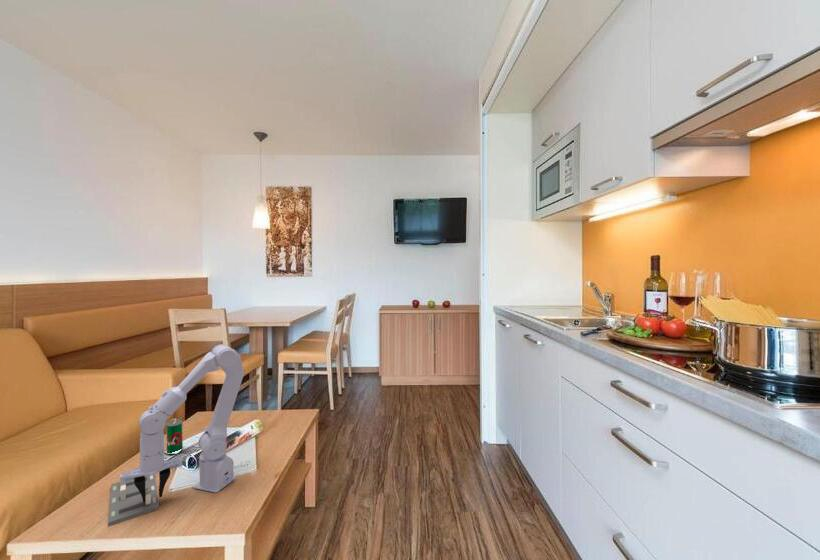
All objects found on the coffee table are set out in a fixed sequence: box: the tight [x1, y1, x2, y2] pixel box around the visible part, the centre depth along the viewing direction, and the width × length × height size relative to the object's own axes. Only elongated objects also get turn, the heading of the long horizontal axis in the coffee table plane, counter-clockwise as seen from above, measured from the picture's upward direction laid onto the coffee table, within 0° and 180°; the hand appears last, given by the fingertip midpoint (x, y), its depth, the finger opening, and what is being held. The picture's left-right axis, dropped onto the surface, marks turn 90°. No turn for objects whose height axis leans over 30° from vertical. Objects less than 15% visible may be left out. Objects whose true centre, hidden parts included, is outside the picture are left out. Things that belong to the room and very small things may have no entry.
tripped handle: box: [145, 489, 151, 505], centre depth 101 cm, size 1×3×3 cm, turn 39°
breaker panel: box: [107, 474, 160, 527], centre depth 105 cm, size 11×22×4 cm, turn 39°
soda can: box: [165, 418, 184, 454], centre depth 132 cm, size 5×5×12 cm
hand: (152, 498), depth 102 cm, fingers open, 3 cm apart
